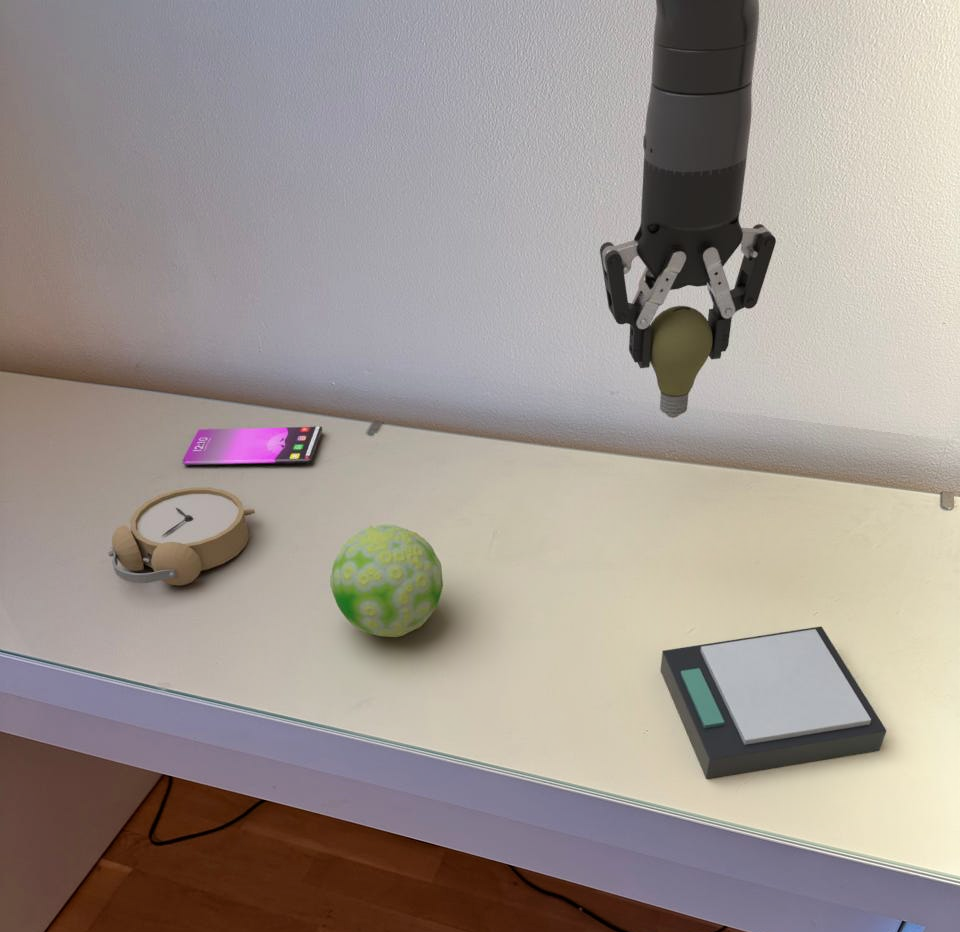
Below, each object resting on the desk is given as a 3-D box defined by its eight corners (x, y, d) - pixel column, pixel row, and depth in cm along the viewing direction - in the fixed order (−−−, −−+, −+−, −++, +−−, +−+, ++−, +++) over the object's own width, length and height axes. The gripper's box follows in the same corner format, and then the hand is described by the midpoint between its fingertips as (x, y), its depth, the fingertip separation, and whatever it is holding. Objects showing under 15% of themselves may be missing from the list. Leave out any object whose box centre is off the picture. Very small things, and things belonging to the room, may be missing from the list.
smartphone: (311, 466, 108) (310, 459, 107) (182, 466, 109) (180, 460, 108) (324, 431, 113) (322, 425, 112) (200, 432, 114) (198, 425, 114)
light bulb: (671, 392, 89) (679, 288, 82) (717, 415, 86) (730, 308, 79) (628, 414, 87) (633, 309, 80) (674, 438, 84) (683, 330, 77)
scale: (816, 645, 83) (823, 620, 81) (879, 750, 75) (889, 725, 73) (660, 670, 82) (662, 645, 80) (706, 779, 74) (710, 754, 72)
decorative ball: (457, 592, 91) (449, 506, 84) (431, 666, 84) (421, 579, 77) (358, 582, 93) (342, 497, 86) (325, 654, 86) (305, 568, 79)
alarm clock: (268, 501, 98) (164, 565, 87) (272, 544, 101) (172, 610, 90) (184, 476, 102) (74, 534, 91) (191, 518, 105) (85, 578, 94)
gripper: (612, 177, 68) (606, 391, 80) (809, 154, 69) (774, 369, 80) (589, 145, 73) (586, 350, 85) (771, 124, 74) (744, 329, 86)
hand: (677, 358), depth 83 cm, fingers closed on light bulb, 5 cm apart
